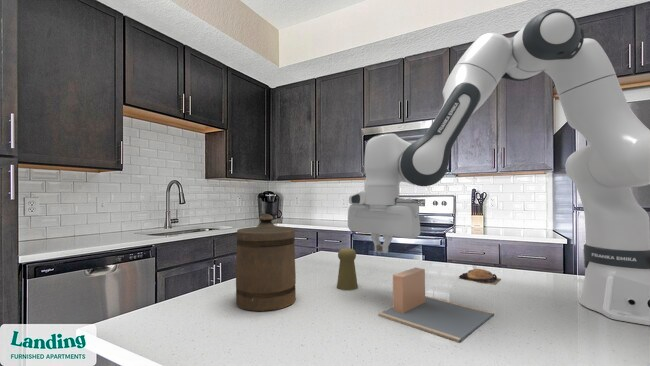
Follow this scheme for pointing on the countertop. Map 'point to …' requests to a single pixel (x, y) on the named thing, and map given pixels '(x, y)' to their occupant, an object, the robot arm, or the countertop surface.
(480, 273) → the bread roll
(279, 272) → the wooden container
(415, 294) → the tile
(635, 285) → the robot arm
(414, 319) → the mat
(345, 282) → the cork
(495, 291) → the countertop surface
